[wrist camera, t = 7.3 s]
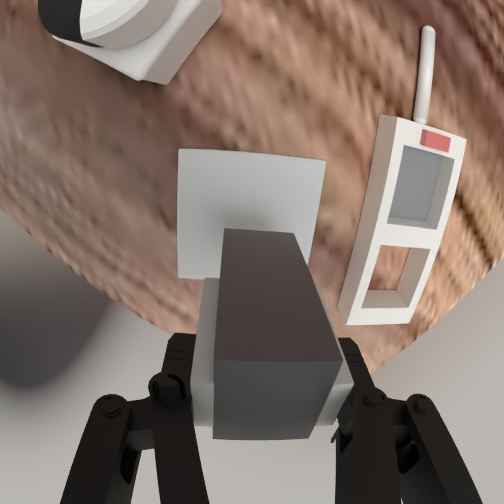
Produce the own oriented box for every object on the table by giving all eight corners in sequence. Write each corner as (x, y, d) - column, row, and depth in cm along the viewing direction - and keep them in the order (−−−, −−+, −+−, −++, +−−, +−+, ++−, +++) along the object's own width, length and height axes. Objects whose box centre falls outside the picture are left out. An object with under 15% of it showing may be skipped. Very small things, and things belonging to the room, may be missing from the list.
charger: (224, 228, 18) (213, 359, 9) (293, 232, 18) (343, 360, 9) (220, 300, 20) (212, 439, 11) (281, 303, 20) (308, 438, 11)
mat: (179, 147, 22) (178, 148, 22) (324, 160, 23) (326, 161, 23) (178, 275, 27) (178, 278, 27) (302, 282, 28) (303, 284, 28)
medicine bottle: (95, 48, 18) (-4, 26, 7) (148, -24, 15) (89, -97, 4) (167, 87, 20) (101, 77, 9) (224, 12, 17) (216, -64, 7)
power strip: (389, 13, 17) (412, 3, 14) (455, 41, 18) (481, 39, 14) (337, 305, 29) (348, 330, 26) (397, 305, 30) (411, 327, 27)
